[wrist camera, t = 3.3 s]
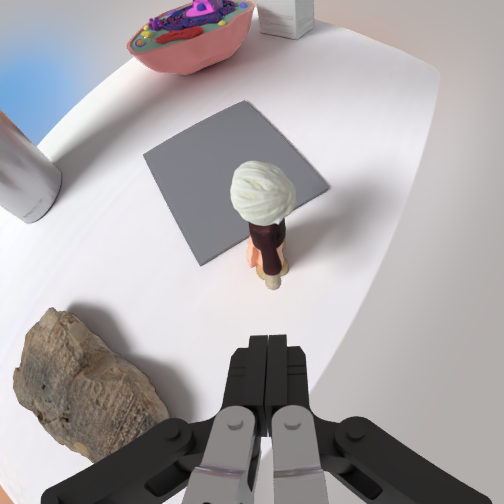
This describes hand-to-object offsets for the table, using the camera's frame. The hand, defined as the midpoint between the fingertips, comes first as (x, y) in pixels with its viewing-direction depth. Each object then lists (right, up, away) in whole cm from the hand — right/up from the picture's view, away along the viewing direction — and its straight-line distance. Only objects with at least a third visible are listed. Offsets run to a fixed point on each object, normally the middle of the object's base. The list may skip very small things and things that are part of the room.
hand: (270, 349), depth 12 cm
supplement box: (+6, +43, +28) cm, 52 cm away
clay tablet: (-16, -11, +11) cm, 22 cm away
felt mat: (-4, +13, +17) cm, 22 cm away
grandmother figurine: (+1, +3, +14) cm, 14 cm away
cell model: (-9, +35, +26) cm, 44 cm away
